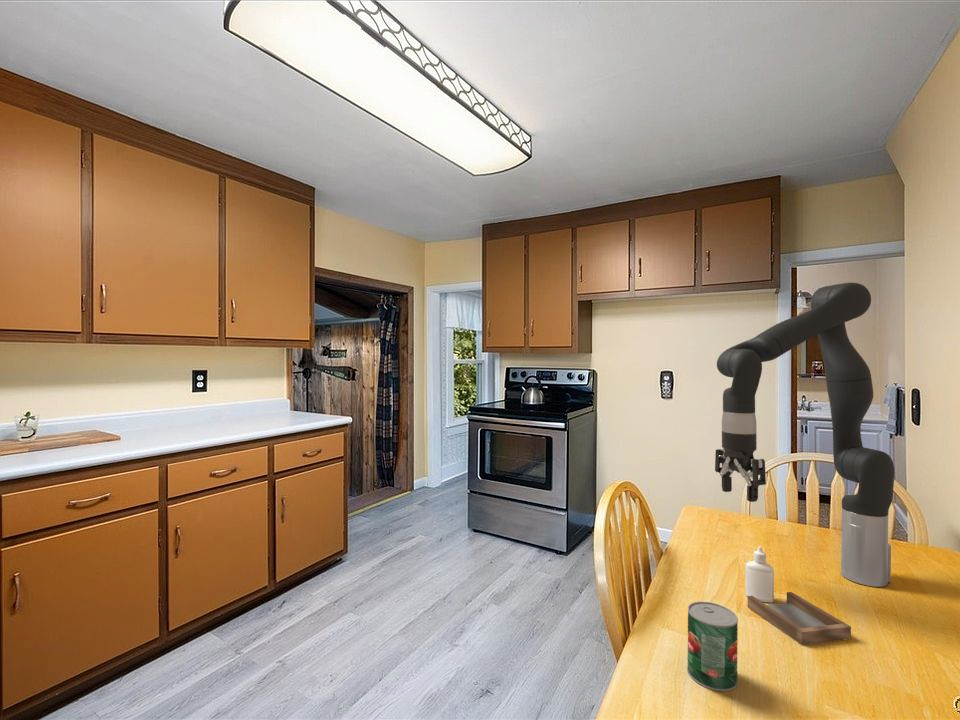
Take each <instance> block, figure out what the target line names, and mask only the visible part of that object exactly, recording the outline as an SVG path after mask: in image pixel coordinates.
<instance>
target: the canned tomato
mask: <svg viewBox="0 0 960 720" xmlns="http://www.w3.org/2000/svg"><path fill="white" fill-rule="evenodd" d="M738 622H739V619H738V616H737V614H736V613H735V612H734V611H732V610H731V609H729V608H728V607H726V606H724V605H721V604H718V603H714V602H709V601H695V602H691V603H690V604H689V605H688V607H687V666H686V667H687V668H686V670H687V673H688V675H689V676H690V678H691V679H692V680H693V681H694V682H695V683H697V684H698V685H700V686H702V687H704V688H705V689H709V690H712V691H716V692H731V691H733V690H735V689H736V688H737V686H738V643H739V642H738V624H739V623H738Z"/></svg>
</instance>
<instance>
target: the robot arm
mask: <svg viewBox="0 0 960 720" xmlns="http://www.w3.org/2000/svg"><path fill="white" fill-rule="evenodd" d="M871 295H872V294H871V292H870V290H869V289H868V288H867V287H866V286H865V285H864V284H861V283H858V282H843V283H838V284H832V285H826V286H822V287H820V288H817V290H815V291H814V293H813V294H812V295H811V296H812V297H811V300H810V308H811V309H809V310H808V311H806V312H803V313H801V314H797V315H796V316H793V317H790V318H788V319H785V320H783V321H781V322H778V323H775V324H774V325H772V326H770V327H769V328H767V329H766V330H764V331H762V332H760V333H759V334H756V336H754V337H752V338H750V339H747V340H745V341H742V342H740V343H737V344H735V345H733V346H731V347H729V348H727V349H725V350H724V351H723V352H722V353H720V355H719V356H718V358H717V360H716V368H717V371H718V372H719V374H721V375H722V376H725V377H727V378H732V382H731V385H730V386H729V387H728V388H726V389H724V390H723V394H722V417H721V448H719V449H715V455H714V456H715V459H714V460H715V461H714V471H715V472H716V473H718V474H719V476H720V477H721V490H722V492H724V493H730V492H732V491H733V490H732V489H733V488H732V486H733V485H732V483H733V482H732V480H733V479H732V475H733V473H734V472H737V473H738V474H740V475H741V477H742V478H744V480H745V482H746V484H747V485H746V500H747V501H748V502H750V503H753V502H757V501H758V500H759V486H765V485H766V484H767V480H766V477H767V476H766V475H767V474H766V461H765V459H764V458H755V457H754V456H755V455H754V452H756V451H757V447H758V446H757V442H758V441H757V438H758V437H757V436H758V435H757V418H756V394H757V391H758V388H759V384H760V381H761V377H762V371H763V363H765V362H771V361H773V360H776V359H777V358H779V357H781V356H783V355H784V354H786V353H787V352H789V351H791V350H792V349H794V348H795V347H797V346H799V345H801V344H803V343H804V342H806V341H808V340H810V339H812V338H814V337H815V336H818V340H819V345H820V349H821V356H822V360H823V362H822V363H823V367H824V376H825V383H826V390H827V391H826V392H827V396H828V400H829V401H828V402H829V408H830V415H831V426H832V427H831V428H832V453H833V463H834V464H833V465H834V468H835V470H836V473H837V474H838V475H839V476H840V477H841V478H842V479H845V480H847V481H849V482H854V483H858V488H857V489H858V490H857V493H856V494H847V495H844V496H842V498H841V541H840V543H841V547H840V550H841V551H840V553H841V556H840V574H841V576H842V577H843V578H845V579H846V580H849V581H850V582H851V581H852V582H854V583H856V584H860V585H862V586H863V585H864V586H868V587H874V588H875V587H877V588H879V587H880V588H881V587H882V588H883V587H887V586H888V585H889V583H888V582H890V583H891V580H892V579H891V578H892V577H891V575H892V572H891V571H892V545H891V544H890V543H889V510H890V507H891V505H892V502H893V497H894V487H895V485H894V484H895V465H894V461H893V459H892V458H891V456H890V455H889V454H888V453H886V452H885V451H882V450H878V449H874V448H869V447H864V446H863V441H862V440H863V439H862V434H861V433H862V431H861V430H862V429H861V427H862V422H863V421H864V417H865V416H866V414H867V413H868V410H869V409H870V407H871V405H872V403H873V399H874V386H873V379H872V374H871V370H870V367H869V365H868V364H867V362H866V361H865V359H863V357H862V355H861V354H860V353H859V352H858V350H857V349H856V348H855V347H854V345H853V344H852V342H851V340H850V339H849V336H848V332H847V329H846V323H847V322H850V321H853V320H854V319H857V318H859V317H862V316H863V315H865V314H866V312H867V311H868V310H869V309H870V306H871V304H872V296H871ZM886 585H887V586H886Z"/></svg>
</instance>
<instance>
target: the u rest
mask: <svg viewBox="0 0 960 720" xmlns="http://www.w3.org/2000/svg"><path fill="white" fill-rule="evenodd" d="M747 609H749V610H751V611H753V612H754V613H755V614H756V615H758V616H759V617H761V618H762V619H764V620H765V621H766V622H768V623H769V624H771V626H772V625H773V627H775V628H776V629H778V630H779V631H781V632H783V633H784V634H785V635H787V637H789V638H791V639H792V640H794V641H795V642H797V643H798V644H800V645H801V646H805V645H806V646H807V645H814V644H822V643H831V642H839V641H846V640H848V641H849V640H851V639H852V627H851V625H849V624H847V623H846V622H844V621H842V620H841V619H839V618H837V617H835V616H834V615H832V614H830V613H828V612H827V611H825V610H823V609H822V608H820V607H819V606H816V605H814V604H813V603H811V602H809V601H808V600H807V599H804V598H803V597H801V596H799V595H798V594H796V593H794V592H792V591H787V592H786V602H785V603H776V604H766V603H765V602H761V601H760V600H758V599H757V598H755V597H754V596H748V597H747Z"/></svg>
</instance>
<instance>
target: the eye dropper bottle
mask: <svg viewBox="0 0 960 720" xmlns="http://www.w3.org/2000/svg"><path fill="white" fill-rule="evenodd" d="M774 593H775V570H774V567H773V566H772V565H771V564H769V563H767V554H766V552H764V551H763V548H762V546H761V545H760V546H759V545H758V546H757V550H754V551H753V560H749V561H747V562H746V564H745V597H746V598H748V596H754V597H755V598H757V599H758V600H760V601H761V602H763V603H769V604H770V603H773V602H774V601H775V600H774V599H775V598H774V597H775V594H774Z"/></svg>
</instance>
